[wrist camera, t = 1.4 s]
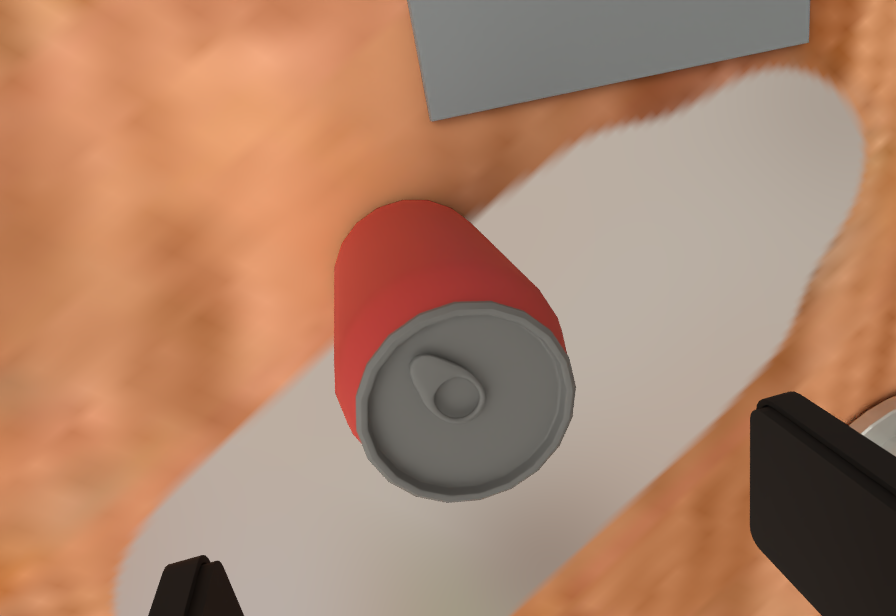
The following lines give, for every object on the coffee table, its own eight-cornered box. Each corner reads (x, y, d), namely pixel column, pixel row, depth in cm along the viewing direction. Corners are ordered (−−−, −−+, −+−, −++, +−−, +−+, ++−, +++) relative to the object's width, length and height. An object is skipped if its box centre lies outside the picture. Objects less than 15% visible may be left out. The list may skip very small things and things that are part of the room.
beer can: (413, 162, 24) (479, 223, 13) (516, 271, 27) (645, 400, 16) (300, 275, 25) (273, 421, 14) (410, 372, 28) (461, 562, 16)
